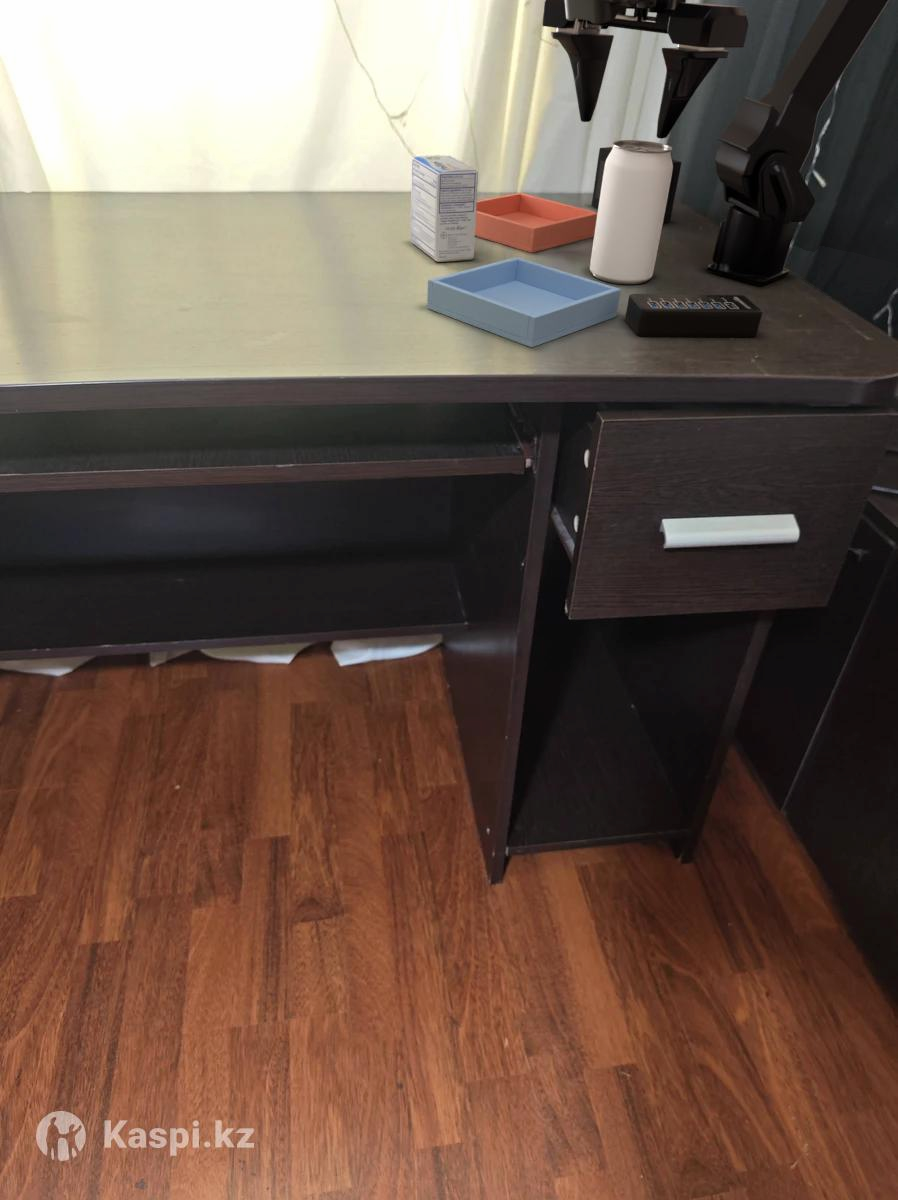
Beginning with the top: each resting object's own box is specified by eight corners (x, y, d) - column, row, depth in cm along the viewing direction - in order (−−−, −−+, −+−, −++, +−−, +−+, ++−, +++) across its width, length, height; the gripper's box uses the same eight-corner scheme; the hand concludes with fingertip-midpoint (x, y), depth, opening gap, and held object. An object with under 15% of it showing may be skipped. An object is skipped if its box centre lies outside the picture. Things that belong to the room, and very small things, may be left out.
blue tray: (616, 316, 77) (621, 288, 76) (531, 347, 70) (535, 317, 69) (514, 283, 84) (516, 256, 82) (426, 308, 77) (427, 279, 75)
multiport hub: (623, 318, 77) (627, 293, 76) (738, 319, 78) (744, 294, 77) (638, 336, 74) (643, 310, 72) (757, 337, 75) (765, 311, 74)
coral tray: (597, 235, 100) (600, 213, 99) (531, 252, 93) (534, 228, 91) (518, 214, 106) (520, 192, 105) (450, 228, 99) (451, 205, 98)
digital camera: (583, 206, 111) (591, 147, 107) (614, 203, 114) (623, 145, 110) (638, 226, 105) (649, 163, 100) (669, 222, 107) (681, 160, 103)
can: (651, 288, 85) (677, 154, 77) (586, 281, 86) (606, 147, 78) (652, 270, 90) (676, 143, 83) (591, 263, 91) (609, 136, 83)
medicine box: (474, 261, 89) (480, 169, 84) (434, 263, 88) (438, 171, 82) (446, 240, 95) (450, 154, 90) (409, 242, 93) (410, 154, 88)
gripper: (508, -94, 71) (491, 118, 81) (690, -90, 61) (646, 154, 70) (596, -84, 77) (571, 112, 87) (775, -78, 67) (724, 145, 76)
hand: (622, 129), depth 80 cm, fingers open, 9 cm apart
